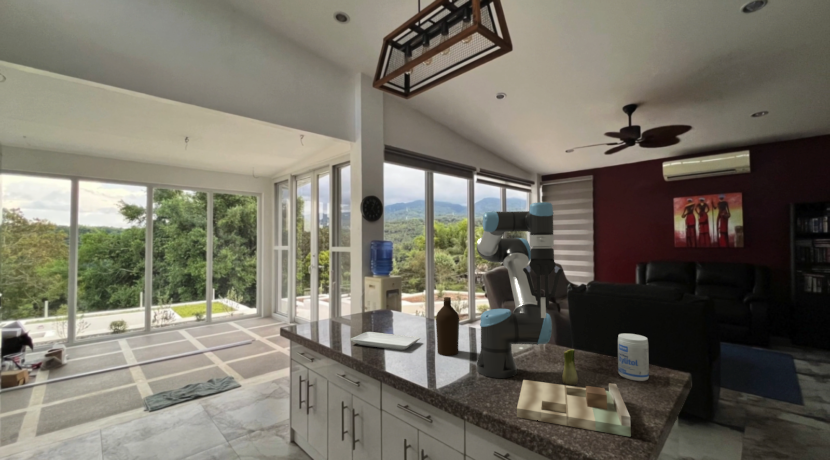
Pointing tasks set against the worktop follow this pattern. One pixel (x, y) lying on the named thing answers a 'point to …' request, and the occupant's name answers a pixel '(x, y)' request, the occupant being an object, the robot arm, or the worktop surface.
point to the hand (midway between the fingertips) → (543, 317)
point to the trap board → (573, 407)
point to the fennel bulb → (569, 369)
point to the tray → (385, 340)
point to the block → (596, 397)
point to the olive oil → (447, 329)
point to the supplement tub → (633, 357)
